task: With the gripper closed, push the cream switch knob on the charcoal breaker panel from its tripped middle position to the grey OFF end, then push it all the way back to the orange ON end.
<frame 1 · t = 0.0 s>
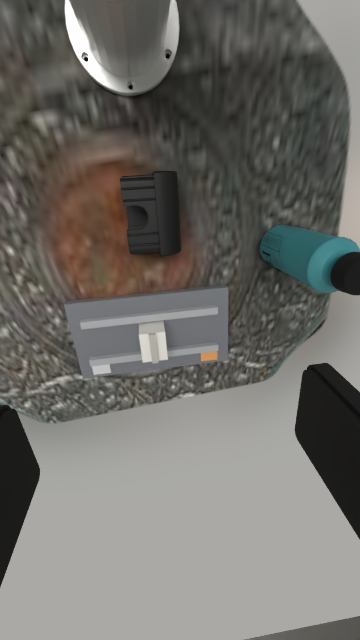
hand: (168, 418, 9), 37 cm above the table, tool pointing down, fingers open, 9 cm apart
breaker panel: (152, 330, 49), on the table
beverage bottle: (274, 243, 45), on the table
end cap: (151, 213, 41), on the table
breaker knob: (153, 342, 45), point 4 cm above the table, slide at 0.0 cm
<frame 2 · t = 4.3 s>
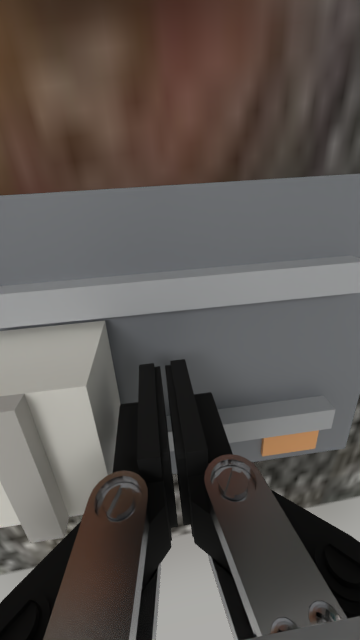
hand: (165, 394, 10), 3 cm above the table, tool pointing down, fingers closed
breaker panel: (93, 355, 13), on the table
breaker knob: (49, 421, 10), point 4 cm above the table, slide at -0.9 cm, touching gripper
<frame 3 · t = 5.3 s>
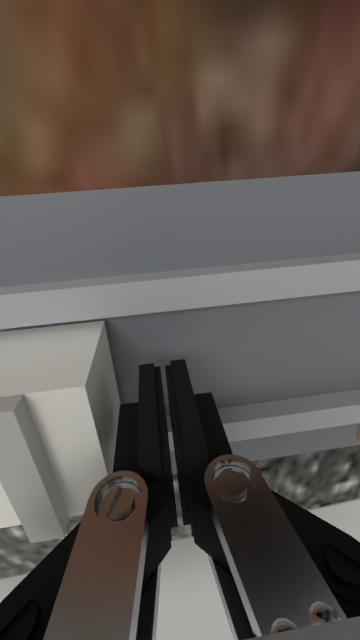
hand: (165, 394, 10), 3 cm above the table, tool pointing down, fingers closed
breaker panel: (208, 341, 14), on the table
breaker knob: (49, 421, 10), point 4 cm above the table, slide at -6.4 cm, touching gripper
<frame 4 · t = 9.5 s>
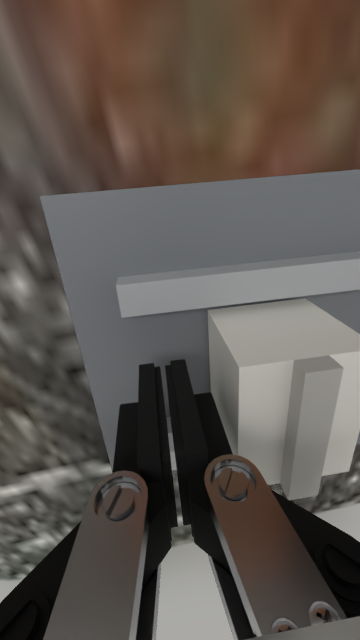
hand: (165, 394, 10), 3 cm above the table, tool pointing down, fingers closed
breaker panel: (352, 323, 14), on the table
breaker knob: (277, 391, 10), point 4 cm above the table, slide at -5.8 cm, touching gripper
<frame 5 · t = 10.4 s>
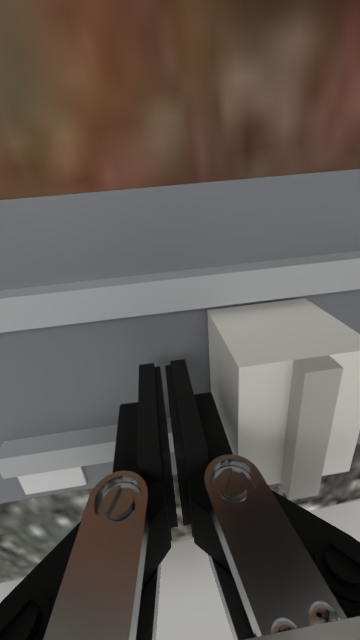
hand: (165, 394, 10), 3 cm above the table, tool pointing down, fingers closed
breaker panel: (229, 339, 14), on the table
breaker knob: (277, 391, 10), point 4 cm above the table, slide at 0.6 cm, touching gripper
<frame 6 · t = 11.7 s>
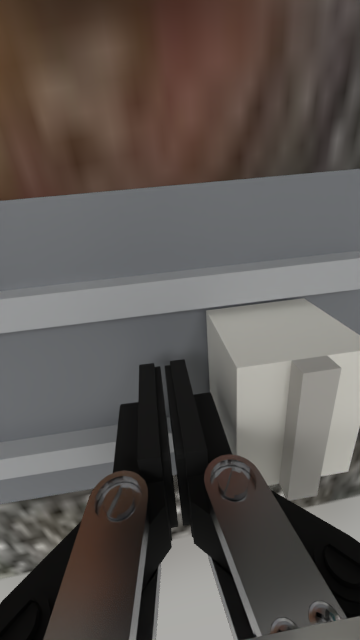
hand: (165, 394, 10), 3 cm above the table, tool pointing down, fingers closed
breaker panel: (100, 356, 13), on the table
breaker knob: (276, 391, 10), point 4 cm above the table, slide at 6.8 cm, touching gripper
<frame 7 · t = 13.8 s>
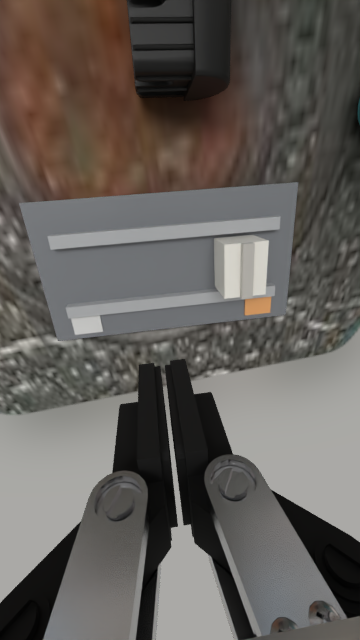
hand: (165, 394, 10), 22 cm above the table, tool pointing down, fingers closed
breaker panel: (169, 263, 30), on the table
end cap: (173, 29, 23), on the table
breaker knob: (240, 266, 27), point 4 cm above the table, slide at 6.5 cm
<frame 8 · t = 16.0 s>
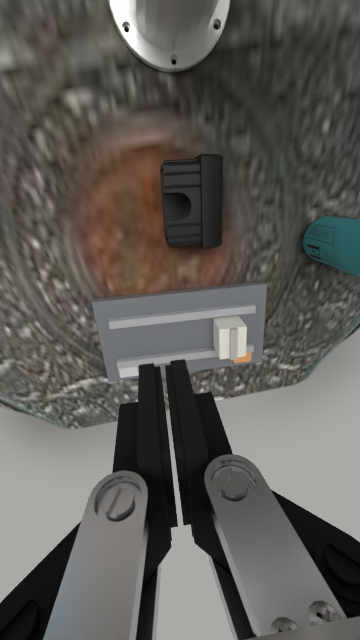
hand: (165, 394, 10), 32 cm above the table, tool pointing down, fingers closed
breaker panel: (183, 330, 46), on the table
beverage bottle: (316, 236, 42), on the table
end cap: (188, 203, 38), on the table
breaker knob: (229, 337, 42), point 4 cm above the table, slide at 6.5 cm
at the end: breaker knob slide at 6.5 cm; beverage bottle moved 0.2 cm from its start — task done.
